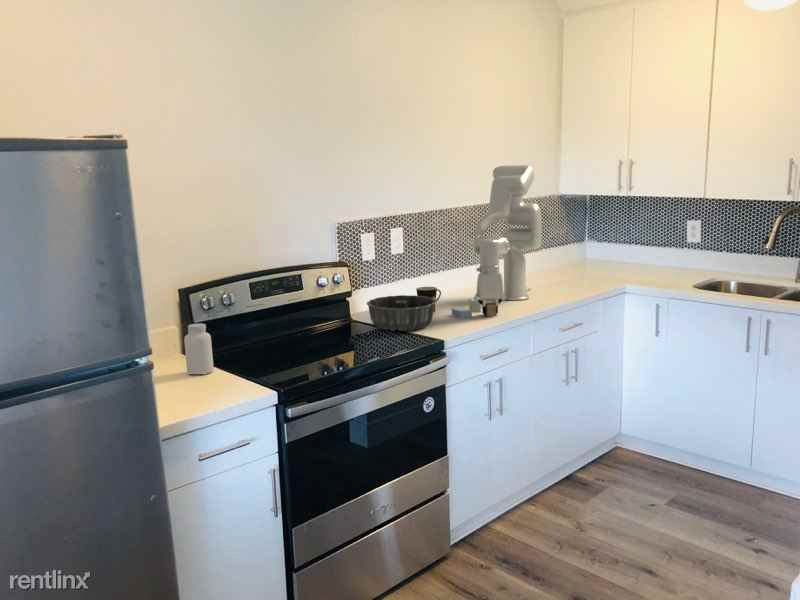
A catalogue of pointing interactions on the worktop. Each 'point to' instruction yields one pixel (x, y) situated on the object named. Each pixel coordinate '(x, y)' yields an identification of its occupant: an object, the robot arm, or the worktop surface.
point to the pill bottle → (198, 350)
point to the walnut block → (491, 309)
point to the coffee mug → (428, 293)
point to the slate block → (461, 312)
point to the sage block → (474, 305)
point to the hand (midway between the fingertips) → (490, 315)
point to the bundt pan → (401, 312)
